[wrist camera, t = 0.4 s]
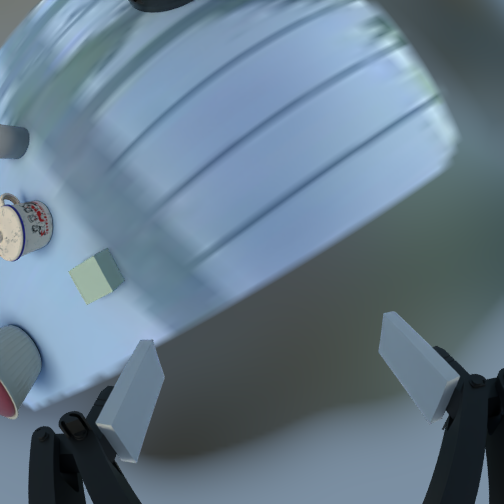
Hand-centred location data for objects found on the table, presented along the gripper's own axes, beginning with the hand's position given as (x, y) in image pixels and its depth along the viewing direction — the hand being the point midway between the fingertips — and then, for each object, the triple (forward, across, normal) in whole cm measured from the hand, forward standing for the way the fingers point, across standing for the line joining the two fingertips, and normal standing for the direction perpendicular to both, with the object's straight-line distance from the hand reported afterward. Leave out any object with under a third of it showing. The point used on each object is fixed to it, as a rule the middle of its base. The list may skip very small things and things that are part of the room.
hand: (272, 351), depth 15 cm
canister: (+28, -55, -19) cm, 65 cm away
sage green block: (+28, -25, -2) cm, 37 cm away
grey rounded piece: (+28, -42, +24) cm, 55 cm away
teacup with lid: (+28, -39, +9) cm, 49 cm away
